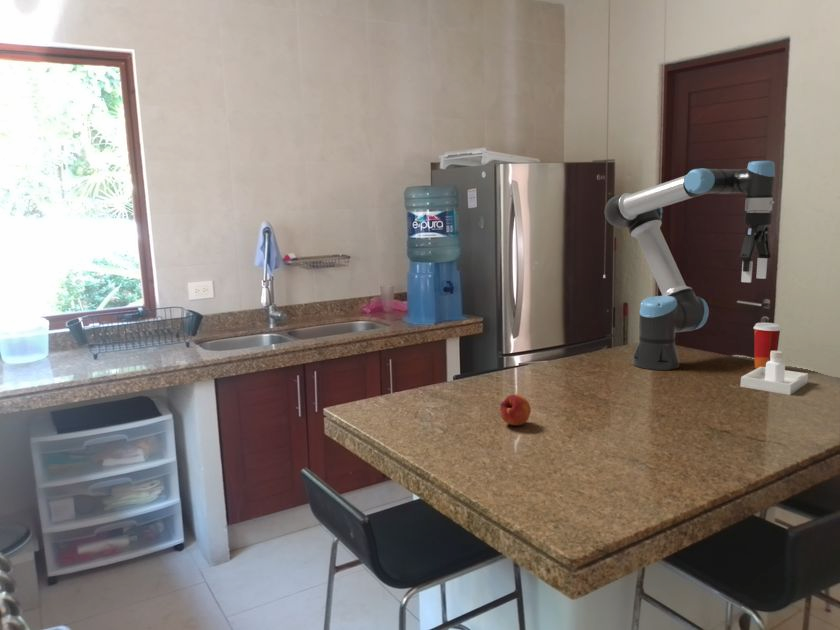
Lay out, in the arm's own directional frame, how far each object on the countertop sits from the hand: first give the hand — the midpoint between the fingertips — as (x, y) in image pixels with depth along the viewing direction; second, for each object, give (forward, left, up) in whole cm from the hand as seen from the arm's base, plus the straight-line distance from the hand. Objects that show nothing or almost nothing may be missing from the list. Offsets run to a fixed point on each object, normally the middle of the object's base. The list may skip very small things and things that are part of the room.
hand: (753, 280), depth 209 cm
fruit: (-26, -90, -31) cm, 99 cm away
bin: (+10, -7, -31) cm, 33 cm away
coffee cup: (+1, +13, -31) cm, 34 cm away
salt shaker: (+10, -7, -30) cm, 32 cm away
